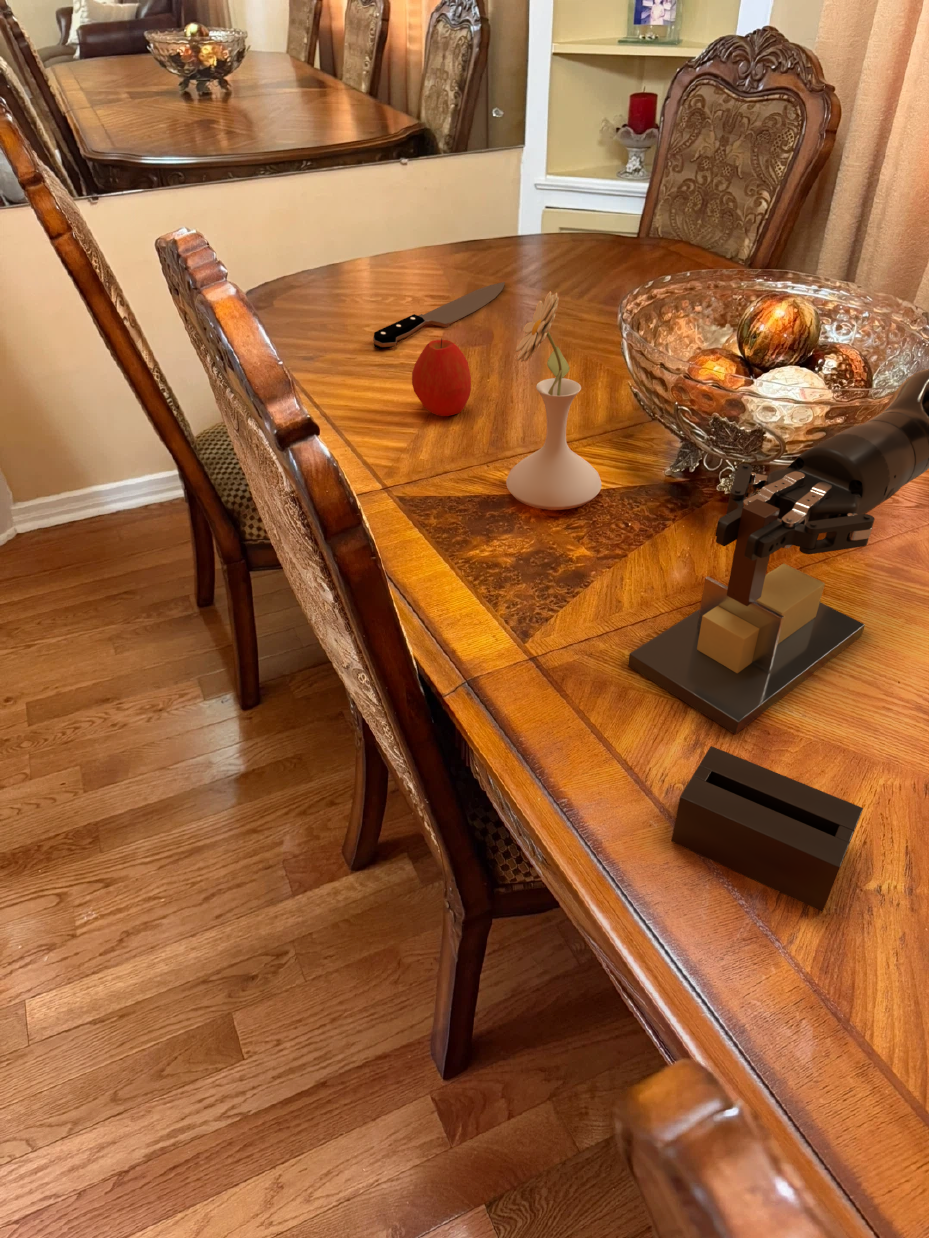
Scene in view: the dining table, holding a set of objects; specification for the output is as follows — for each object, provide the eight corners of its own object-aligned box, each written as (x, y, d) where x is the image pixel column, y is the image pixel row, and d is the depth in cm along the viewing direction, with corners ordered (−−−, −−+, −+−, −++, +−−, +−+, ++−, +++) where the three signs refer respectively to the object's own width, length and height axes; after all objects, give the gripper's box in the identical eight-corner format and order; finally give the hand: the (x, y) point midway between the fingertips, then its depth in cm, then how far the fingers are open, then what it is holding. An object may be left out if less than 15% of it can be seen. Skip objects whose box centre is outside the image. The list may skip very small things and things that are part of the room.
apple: (404, 418, 125) (399, 343, 119) (430, 396, 131) (427, 324, 125) (457, 428, 123) (455, 352, 116) (481, 405, 128) (481, 332, 122)
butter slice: (711, 639, 83) (717, 605, 80) (752, 662, 80) (759, 628, 78) (696, 649, 82) (702, 615, 79) (737, 673, 79) (744, 639, 76)
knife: (704, 623, 84) (727, 485, 75) (777, 664, 80) (811, 522, 70) (691, 632, 83) (713, 494, 74) (763, 675, 79) (797, 532, 69)
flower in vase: (524, 466, 114) (529, 263, 98) (611, 481, 110) (631, 274, 95) (487, 515, 104) (486, 300, 89) (581, 534, 100) (597, 313, 85)
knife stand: (701, 789, 70) (710, 745, 67) (846, 852, 65) (863, 807, 62) (670, 841, 66) (679, 796, 63) (822, 912, 61) (840, 867, 58)
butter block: (775, 596, 88) (783, 562, 86) (815, 617, 85) (825, 583, 83) (732, 625, 85) (739, 591, 82) (773, 647, 82) (782, 613, 79)
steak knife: (520, 290, 171) (522, 278, 170) (395, 356, 144) (395, 343, 143) (497, 283, 173) (498, 271, 172) (369, 347, 146) (369, 334, 145)
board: (755, 582, 93) (758, 570, 92) (861, 636, 85) (865, 624, 84) (627, 665, 82) (629, 653, 81) (735, 734, 75) (738, 722, 74)
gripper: (793, 410, 82) (673, 470, 74) (938, 462, 74) (822, 537, 65) (777, 482, 87) (662, 546, 78) (912, 538, 79) (800, 618, 70)
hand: (735, 541), depth 72 cm, fingers closed on knife, 2 cm apart
